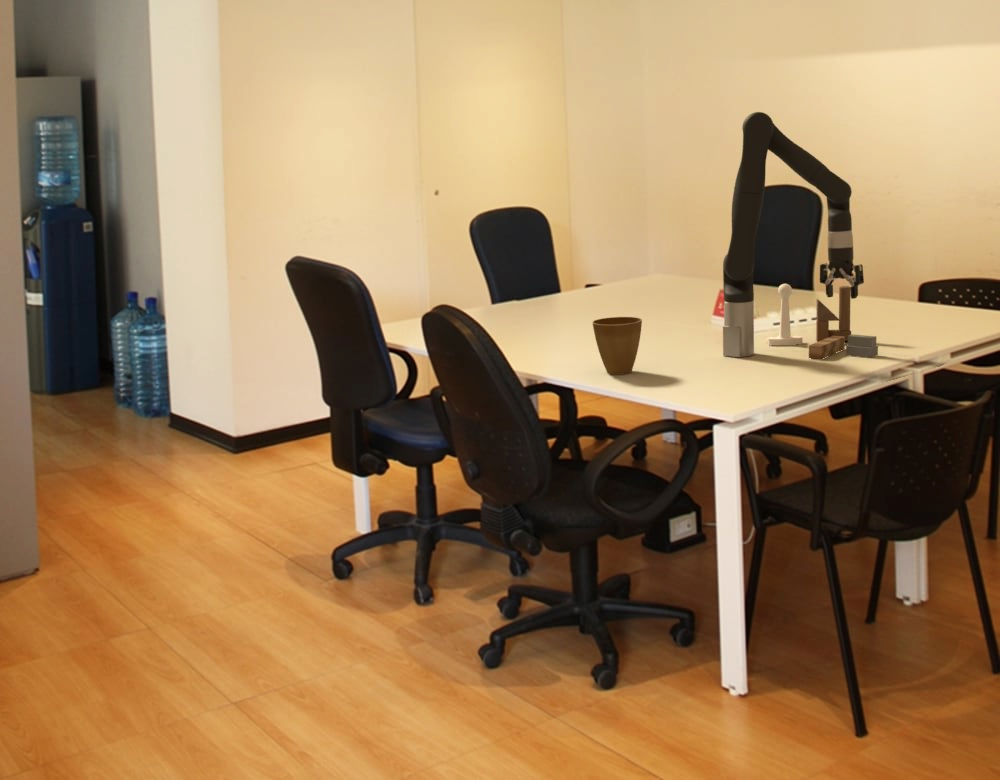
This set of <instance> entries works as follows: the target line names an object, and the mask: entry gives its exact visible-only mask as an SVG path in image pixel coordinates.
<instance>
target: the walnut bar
mask: <svg viewBox="0 0 1000 780" xmlns="http://www.w3.org/2000/svg"><path fill="white" fill-rule="evenodd" d="M843 349H845V350H846V342H845V337H843V336H831V337H829V338H826V339H824V340H821V341H819V342H817V341H816V342H814V343H811V344H809V345H808V359H809V358H811V359H810V360H815V359H822V360H824V359H823V358H825V357H827V356H829V357H831V356H833V355H832V354H834V353H836V352H838V351H841V350H843ZM843 351H844V350H843ZM841 352H842V351H841ZM838 353H839V352H838ZM836 354H837V353H836ZM830 355H831V356H830ZM834 355H835V354H834ZM827 358H828V357H827ZM825 359H826V358H825Z"/></svg>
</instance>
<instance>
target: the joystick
mask: <svg viewBox="0 0 1000 780" xmlns="http://www.w3.org/2000/svg"><path fill="white" fill-rule="evenodd" d="M777 293H778V295H779V296H780V298H781V299H780V302H781V303H780V318H779V334H777V335H775V337H774V336H773V337H770V336H769V337H766V344H767V346H768V345H789V346H797V345H796V344H800V345H803V336H801V335H793V336H792V333H791V318H790V317H791V316H790V315H791V314H790V296H791V294H792V293H793V288H792V286H791V285H790V284H788V283H782V284H780V285H779V286H778V289H777Z"/></svg>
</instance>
